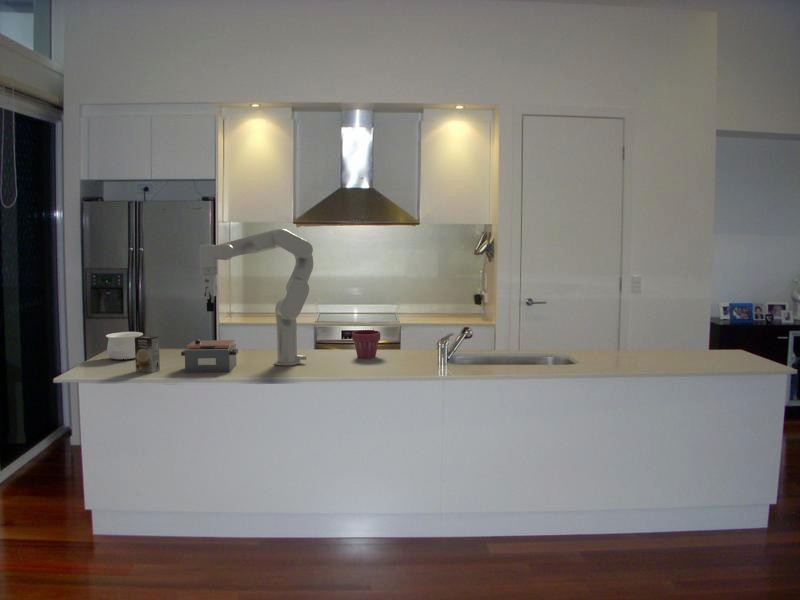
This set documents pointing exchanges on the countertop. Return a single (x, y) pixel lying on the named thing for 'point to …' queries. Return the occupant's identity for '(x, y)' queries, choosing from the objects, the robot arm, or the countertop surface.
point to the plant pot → (366, 343)
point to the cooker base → (210, 359)
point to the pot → (122, 345)
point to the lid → (211, 344)
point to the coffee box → (147, 354)
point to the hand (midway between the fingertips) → (210, 311)
